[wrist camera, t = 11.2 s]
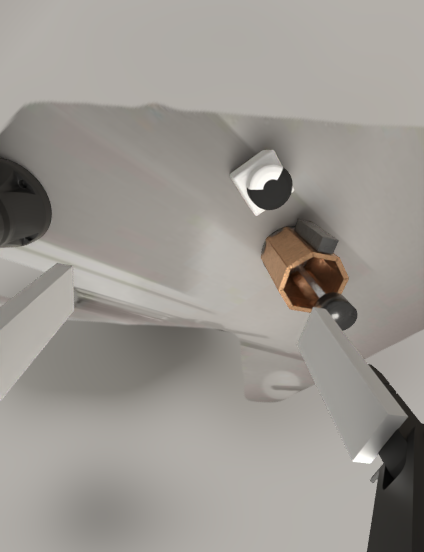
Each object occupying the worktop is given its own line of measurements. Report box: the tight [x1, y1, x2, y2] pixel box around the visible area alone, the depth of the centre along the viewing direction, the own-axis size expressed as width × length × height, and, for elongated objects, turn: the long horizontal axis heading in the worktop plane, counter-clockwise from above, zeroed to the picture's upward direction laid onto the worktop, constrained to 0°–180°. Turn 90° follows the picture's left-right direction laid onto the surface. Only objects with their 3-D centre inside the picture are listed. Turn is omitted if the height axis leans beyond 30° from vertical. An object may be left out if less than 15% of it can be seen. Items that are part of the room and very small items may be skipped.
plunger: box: [290, 260, 357, 331], centre depth 42 cm, size 8×8×22 cm
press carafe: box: [261, 219, 349, 313], centre depth 46 cm, size 10×12×14 cm
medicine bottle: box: [230, 150, 294, 216], centre depth 41 cm, size 7×7×12 cm
